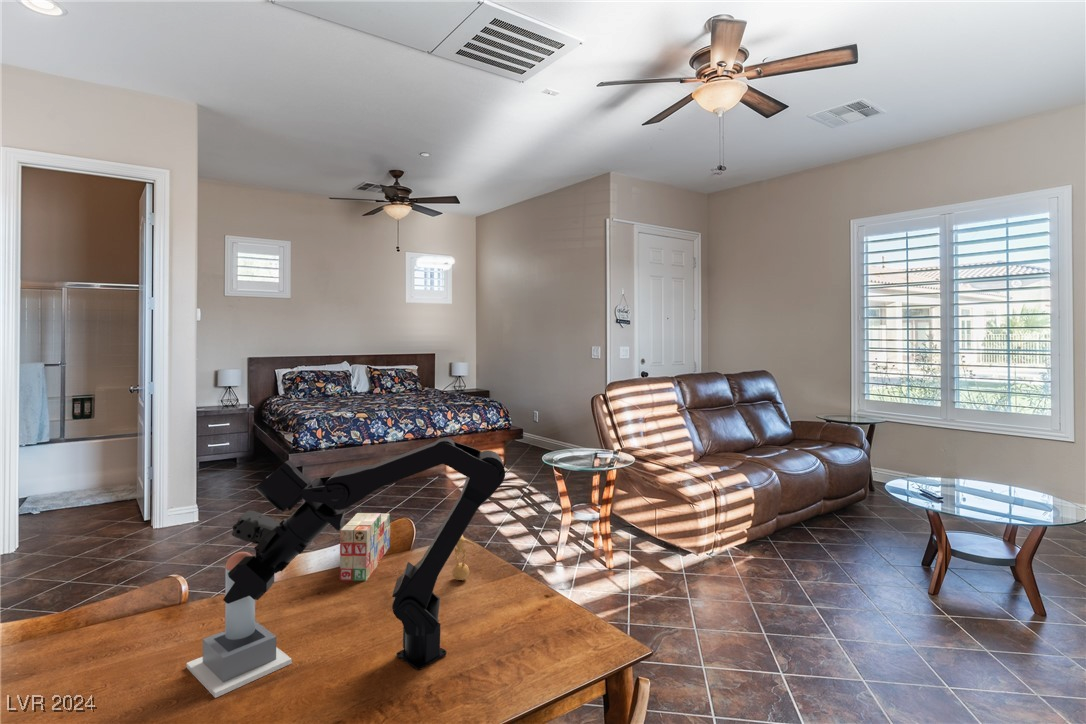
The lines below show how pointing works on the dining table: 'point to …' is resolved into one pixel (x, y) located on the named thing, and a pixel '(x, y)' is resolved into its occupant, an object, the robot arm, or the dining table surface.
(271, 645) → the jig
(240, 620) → the copper-capped grey cylinder
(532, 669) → the dining table surface
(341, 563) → the stack of blocks
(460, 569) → the figurine
